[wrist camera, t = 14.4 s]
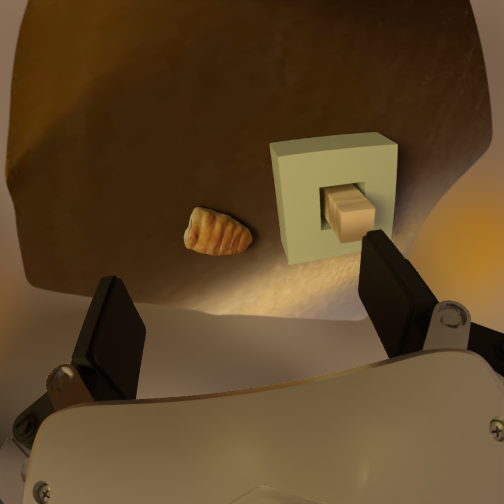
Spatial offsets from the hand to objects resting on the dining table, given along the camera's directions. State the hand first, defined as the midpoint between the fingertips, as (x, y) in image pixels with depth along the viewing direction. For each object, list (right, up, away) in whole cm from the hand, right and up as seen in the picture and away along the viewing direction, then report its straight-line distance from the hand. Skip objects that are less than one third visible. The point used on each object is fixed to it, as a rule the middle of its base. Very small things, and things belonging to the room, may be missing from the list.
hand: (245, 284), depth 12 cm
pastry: (-5, +5, +34) cm, 34 cm away
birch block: (+11, +10, +30) cm, 34 cm away
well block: (+11, +10, +31) cm, 35 cm away
